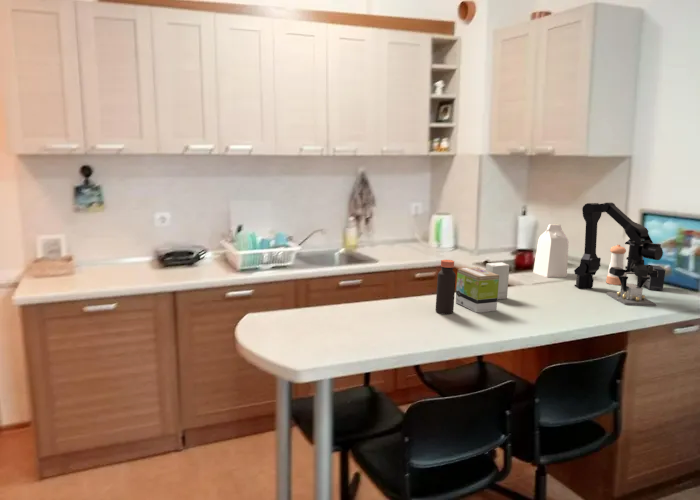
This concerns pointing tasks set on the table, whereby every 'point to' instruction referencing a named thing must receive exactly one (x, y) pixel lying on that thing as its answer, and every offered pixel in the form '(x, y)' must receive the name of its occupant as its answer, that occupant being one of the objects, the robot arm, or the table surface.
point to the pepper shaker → (615, 263)
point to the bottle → (445, 288)
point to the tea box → (477, 289)
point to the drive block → (632, 291)
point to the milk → (552, 253)
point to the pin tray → (626, 301)
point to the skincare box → (500, 277)
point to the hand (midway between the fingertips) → (631, 291)
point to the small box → (656, 280)
